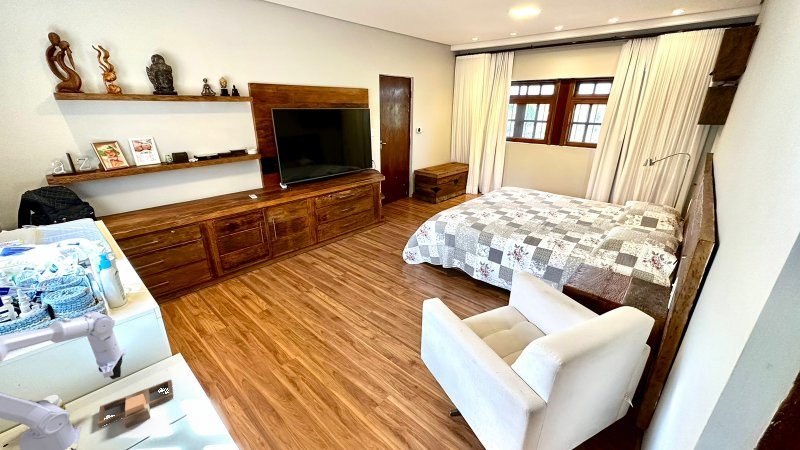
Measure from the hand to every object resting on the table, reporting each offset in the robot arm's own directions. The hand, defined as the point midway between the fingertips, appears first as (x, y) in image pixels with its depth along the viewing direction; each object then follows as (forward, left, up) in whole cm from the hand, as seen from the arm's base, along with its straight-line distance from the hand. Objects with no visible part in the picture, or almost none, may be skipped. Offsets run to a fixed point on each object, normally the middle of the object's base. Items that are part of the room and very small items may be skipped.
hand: (116, 376), depth 103 cm
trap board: (+4, -8, -9) cm, 13 cm away
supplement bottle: (-16, +1, -10) cm, 19 cm away
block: (+4, -10, -7) cm, 13 cm away
